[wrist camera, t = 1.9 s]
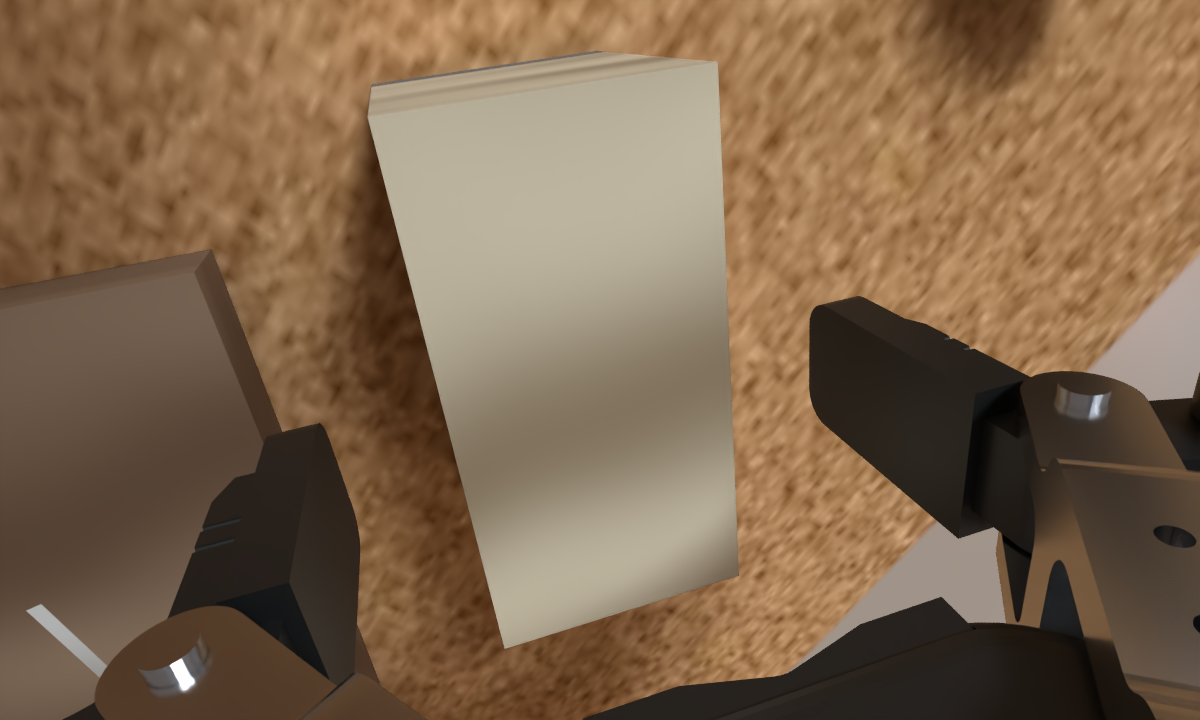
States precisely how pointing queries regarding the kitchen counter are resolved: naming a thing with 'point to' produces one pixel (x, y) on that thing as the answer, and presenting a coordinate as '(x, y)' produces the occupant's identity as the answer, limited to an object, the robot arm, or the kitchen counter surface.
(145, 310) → the walnut board
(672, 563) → the block
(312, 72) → the kitchen counter surface
